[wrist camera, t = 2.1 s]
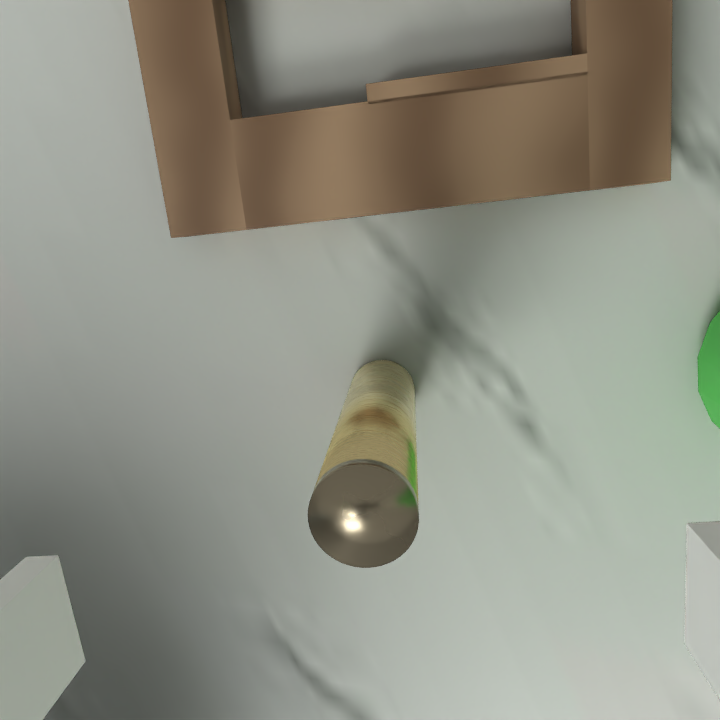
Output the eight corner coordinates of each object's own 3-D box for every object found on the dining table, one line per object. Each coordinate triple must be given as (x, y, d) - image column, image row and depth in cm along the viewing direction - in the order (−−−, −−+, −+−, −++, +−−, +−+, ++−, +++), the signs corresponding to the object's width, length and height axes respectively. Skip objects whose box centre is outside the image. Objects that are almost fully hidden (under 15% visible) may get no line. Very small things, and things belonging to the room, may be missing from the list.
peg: (354, 423, 28) (315, 570, 16) (347, 363, 27) (301, 470, 16) (417, 418, 28) (423, 564, 16) (411, 357, 27) (413, 462, 15)
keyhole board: (188, 236, 26) (170, 237, 24) (126, -121, 23) (100, -152, 21) (649, 183, 24) (670, 180, 22) (650, -217, 21) (675, -261, 19)
